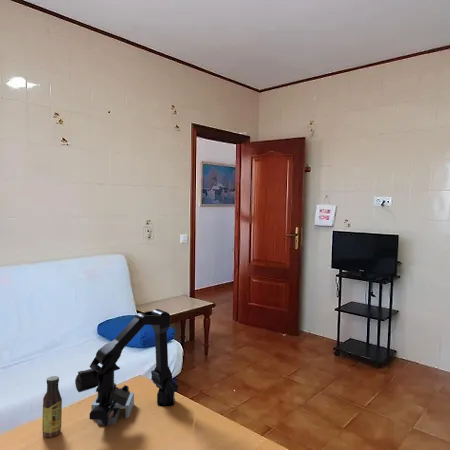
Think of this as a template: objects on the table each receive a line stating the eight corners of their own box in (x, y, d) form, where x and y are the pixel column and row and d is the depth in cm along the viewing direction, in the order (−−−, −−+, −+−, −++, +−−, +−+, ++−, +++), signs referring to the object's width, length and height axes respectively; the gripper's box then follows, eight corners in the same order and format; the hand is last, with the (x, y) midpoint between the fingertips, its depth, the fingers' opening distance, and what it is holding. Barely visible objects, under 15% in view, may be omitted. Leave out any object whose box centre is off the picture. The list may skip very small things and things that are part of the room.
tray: (120, 414, 151) (120, 406, 151) (115, 426, 143) (115, 418, 143) (103, 414, 151) (103, 406, 150) (97, 426, 143) (97, 418, 142)
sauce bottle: (54, 439, 134) (54, 383, 133) (38, 437, 135) (38, 381, 134) (65, 428, 140) (65, 375, 139) (50, 426, 142) (50, 373, 140)
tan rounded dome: (114, 416, 148) (114, 410, 148) (112, 420, 145) (112, 414, 145) (106, 416, 148) (106, 410, 148) (103, 420, 145) (103, 414, 145)
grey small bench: (133, 405, 157) (134, 392, 157) (128, 419, 147) (128, 405, 147) (99, 405, 157) (99, 392, 157) (91, 419, 147) (91, 405, 147)
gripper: (122, 396, 132) (121, 440, 132) (133, 372, 150) (132, 411, 151) (89, 395, 131) (88, 440, 132) (104, 372, 150) (104, 411, 151)
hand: (105, 425), depth 141 cm, fingers closed
